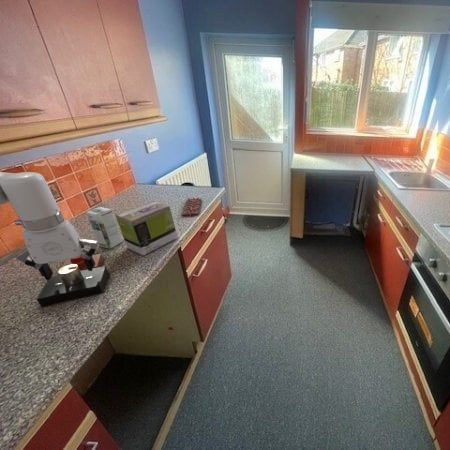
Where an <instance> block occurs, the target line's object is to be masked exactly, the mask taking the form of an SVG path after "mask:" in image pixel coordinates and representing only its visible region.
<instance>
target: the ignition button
mask: <svg viewBox="0 0 450 450" xmlns="http://www.w3.org/2000/svg"><path fill="white" fill-rule="evenodd" d="M83 260H84V258H82V257H80V256H79V257H76V258H72V259H71V261H72V262H73V263H76V262H80V261H83Z"/></svg>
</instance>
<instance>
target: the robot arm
mask: <svg viewBox="0 0 450 450" xmlns="http://www.w3.org/2000/svg"><path fill="white" fill-rule="evenodd" d="M7 203H10V204H11V206H12V208H13V210H14V211H15V213H16V215H17V217H18V218H19V219H16V220H14V225H15V226H22V227H23V229H22V230H21V233H22V237H23V241H24V243H25V247H26V250H24V251H23V252H21V253H19V254H18V255H17V256H16V260H18V261H20V262H21V263H24V265H26V266H28V267H32V268H33V269H35V270H38V272H39V273H40V275H41V276H42V278H43V277H44V279H45V281H48V280H49V279H50V278H51V277H52V276H54V271H53V269H52V268H51V266H50V264H51V263H56V262H62V261H65V260H67V259H72V258H76V257H79V256H80V257H82V258H84V259H85V260H84V262H85V264H86V267H87V269H88V271H92V269H93V267H94V266H95V262H94V260H93V257H92V255H95V253H96V251H97V249H98V246H99V244H98V241H97V240H92V239H85V238H81V236H80V235H79V233H78V231H77V230H76V229H75V227H74V226H73V224H71V222H70V221H69V220H68V219H65V218H64V215H63V214H62V212H61V210H60V208H59V206H58V203H57V201H56V199H55V197H54V195H53V193H52V191H51V189H50V186H49V184H48V183H47V181H46V179H45V177H44V176H43V175H42V174H41V173H39V172H35V171H22V172H4V171H0V206H2V205H5V204H7ZM85 246H87V247H90V249H87V248H85ZM29 256H30V257H29Z"/></svg>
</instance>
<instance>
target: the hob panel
mask: <svg viewBox="0 0 450 450" xmlns="http://www.w3.org/2000/svg"><path fill="white" fill-rule="evenodd" d="M81 274H82V276H83V280H82V281H81V282H80V283H78V284H75V285H72V286H66V285H65V284H64V283H63V281H62V279H61V277H60V275H58V274H57V275H52V277H51V278H50V279H49V280H46V282H45V284H44V286H43V287H42V289H41V291H40V292H39V294H38V296H37V298H36V301H37V302H38V304H39V306H40V307H41V308H43V307H48V306H52V305H57V304H61V303H65V302H69V301H73V300H78V299H83V298H87V297H91V296H96V295H100V294H103V293H104V290H105V287H106V283H107V280H108V278H109V271H108V269H107V266H106V265H103V266H101V267H98V268H93V269H92V271H88V269H87V270H82V271H81Z"/></svg>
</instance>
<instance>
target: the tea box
mask: <svg viewBox="0 0 450 450" xmlns="http://www.w3.org/2000/svg"><path fill="white" fill-rule="evenodd" d="M115 219H116V222H117V225H118V227H119V230H120V233H121V235H122V237H123V240H124V242H125V245H126V247H127V249H129V250H131V251H133V252H135V253H136V254H138V255H141V256H146V255H147V254H149V253H151V252H153V251H155V250H157V249H158V248H161V247H163V246H164V245H167V244H168V243H171V242H172V241H174V240H176V239H178V233H177V229H176V226H175V221H174V218H173V214H172V210H171V207H170V205H166V204H163V203H160V202H157V201H155V200H153V201H149V202H147V203H144V204H142V205H140V206H136V207H134V208H130V209H128V210H125V211H122V212H120V213H117V214H115Z"/></svg>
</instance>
